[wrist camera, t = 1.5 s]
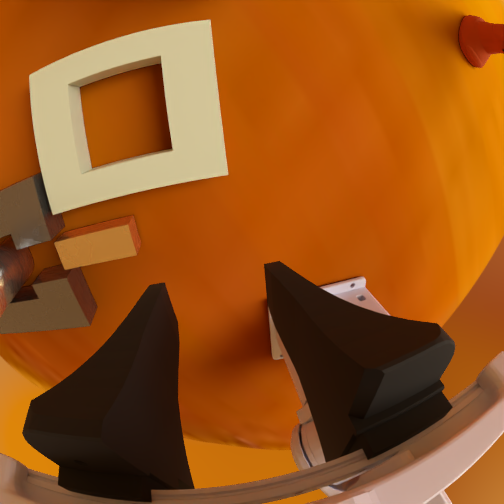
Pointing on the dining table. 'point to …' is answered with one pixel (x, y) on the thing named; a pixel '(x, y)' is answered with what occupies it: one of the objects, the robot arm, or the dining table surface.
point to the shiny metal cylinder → (13, 271)
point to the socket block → (50, 279)
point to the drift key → (99, 243)
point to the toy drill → (480, 39)
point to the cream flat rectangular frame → (178, 109)
